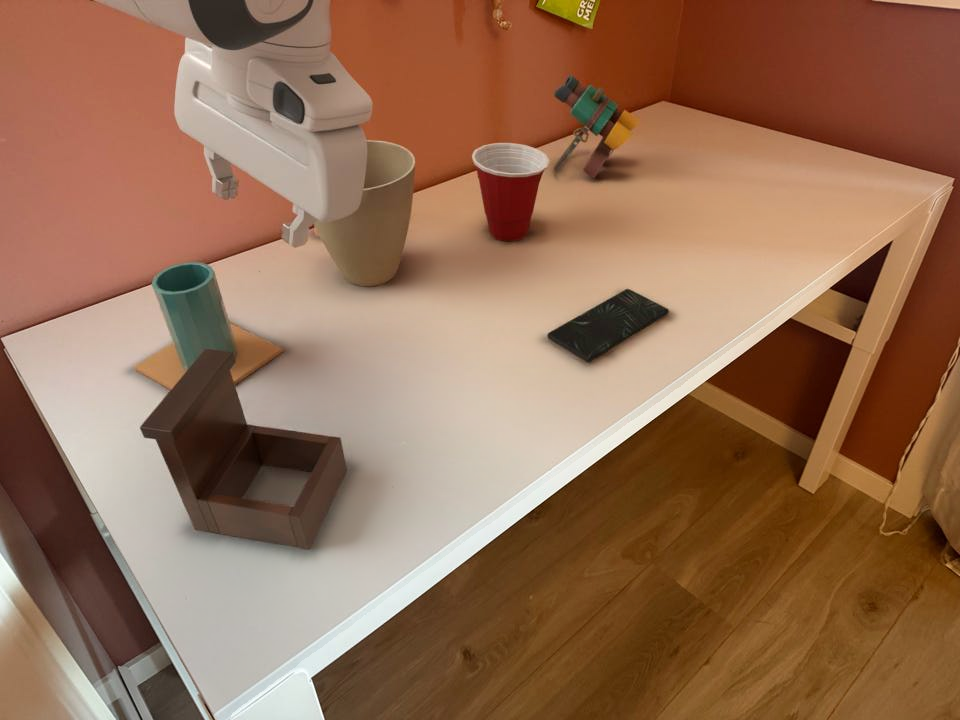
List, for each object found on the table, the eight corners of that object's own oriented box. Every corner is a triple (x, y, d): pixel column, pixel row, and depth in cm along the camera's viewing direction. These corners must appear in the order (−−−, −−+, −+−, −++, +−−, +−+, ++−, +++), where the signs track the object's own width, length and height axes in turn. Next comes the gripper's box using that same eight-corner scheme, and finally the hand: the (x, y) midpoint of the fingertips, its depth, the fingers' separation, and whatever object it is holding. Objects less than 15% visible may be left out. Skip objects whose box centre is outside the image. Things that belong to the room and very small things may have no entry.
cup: (205, 381, 81) (176, 300, 74) (169, 361, 84) (139, 282, 77) (249, 352, 85) (226, 272, 78) (213, 334, 88) (188, 256, 81)
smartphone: (670, 309, 89) (588, 359, 81) (669, 315, 89) (588, 366, 82) (627, 287, 93) (545, 333, 85) (626, 293, 93) (545, 339, 86)
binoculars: (579, 204, 120) (633, 135, 110) (512, 154, 119) (560, 80, 109) (599, 171, 130) (650, 104, 120) (537, 124, 129) (584, 54, 119)
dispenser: (348, 466, 71) (327, 363, 62) (307, 553, 63) (276, 447, 55) (239, 450, 73) (205, 348, 65) (185, 532, 65) (138, 427, 57)
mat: (201, 408, 78) (199, 405, 78) (135, 370, 83) (133, 366, 83) (283, 351, 86) (282, 348, 85) (217, 319, 91) (216, 316, 91)
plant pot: (293, 280, 98) (268, 170, 88) (369, 235, 107) (355, 131, 97) (372, 316, 91) (355, 201, 81) (446, 265, 100) (439, 156, 90)
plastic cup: (548, 250, 102) (552, 170, 95) (473, 251, 103) (470, 172, 95) (544, 214, 111) (547, 139, 103) (474, 215, 111) (472, 140, 104)
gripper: (154, 19, 58) (156, 175, 67) (330, 120, 51) (309, 282, 59) (219, 18, 63) (214, 164, 71) (389, 110, 56) (362, 261, 64)
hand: (258, 218), depth 65 cm, fingers open, 8 cm apart
